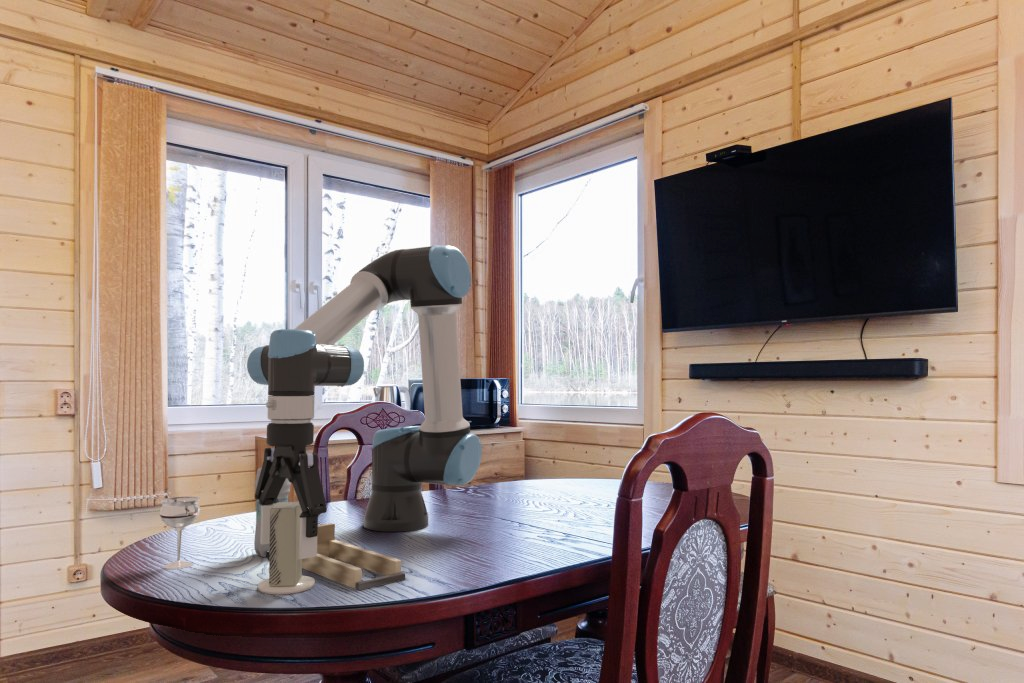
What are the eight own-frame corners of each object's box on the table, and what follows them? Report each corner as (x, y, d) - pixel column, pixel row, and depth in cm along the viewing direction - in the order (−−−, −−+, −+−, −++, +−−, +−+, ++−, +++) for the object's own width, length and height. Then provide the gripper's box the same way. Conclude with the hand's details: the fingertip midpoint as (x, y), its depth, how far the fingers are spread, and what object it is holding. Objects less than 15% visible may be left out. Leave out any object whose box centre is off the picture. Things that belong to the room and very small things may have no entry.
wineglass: (201, 567, 127) (203, 500, 128) (159, 572, 124) (162, 503, 125) (195, 559, 133) (197, 495, 134) (155, 563, 130) (158, 498, 130)
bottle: (296, 552, 139) (298, 450, 140) (274, 560, 133) (276, 453, 134) (268, 549, 141) (270, 449, 142) (245, 557, 135) (248, 452, 136)
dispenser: (287, 562, 131) (288, 529, 131) (331, 554, 138) (331, 523, 138) (359, 590, 114) (359, 552, 114) (405, 579, 120) (405, 543, 121)
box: (276, 578, 118) (276, 501, 119) (302, 577, 118) (303, 500, 119) (268, 588, 113) (268, 507, 113) (295, 586, 113) (296, 506, 114)
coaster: (248, 586, 116) (248, 582, 116) (298, 575, 122) (298, 572, 122) (273, 598, 109) (273, 594, 110) (325, 586, 116) (325, 582, 116)
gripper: (236, 419, 124) (233, 541, 122) (307, 426, 106) (304, 568, 105) (276, 417, 129) (274, 534, 128) (350, 424, 111) (347, 559, 110)
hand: (287, 550), depth 116 cm, fingers open, 13 cm apart
